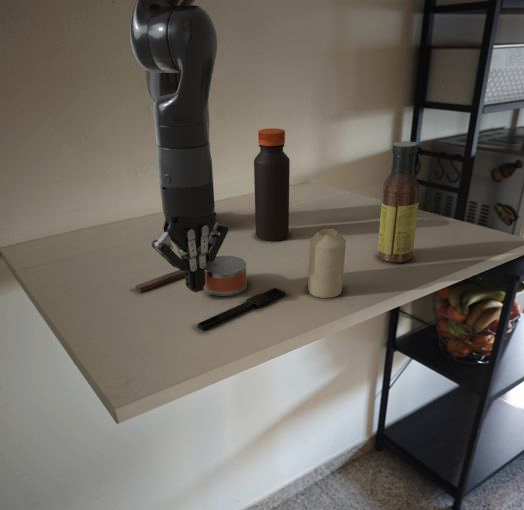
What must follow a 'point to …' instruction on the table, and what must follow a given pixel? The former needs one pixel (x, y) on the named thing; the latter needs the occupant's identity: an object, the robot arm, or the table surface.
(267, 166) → the vinegar
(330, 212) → the table surface
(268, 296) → the fork
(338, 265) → the candle
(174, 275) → the spoon
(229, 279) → the tin can
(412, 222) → the sauce bottle
